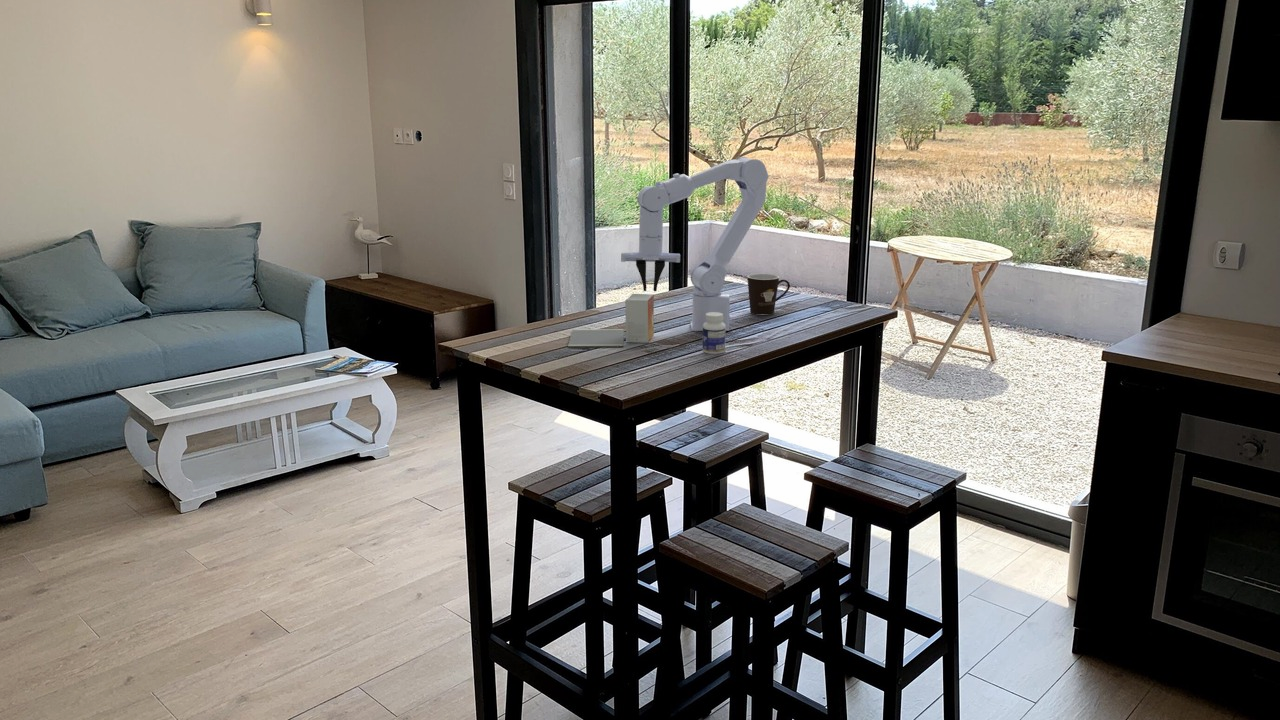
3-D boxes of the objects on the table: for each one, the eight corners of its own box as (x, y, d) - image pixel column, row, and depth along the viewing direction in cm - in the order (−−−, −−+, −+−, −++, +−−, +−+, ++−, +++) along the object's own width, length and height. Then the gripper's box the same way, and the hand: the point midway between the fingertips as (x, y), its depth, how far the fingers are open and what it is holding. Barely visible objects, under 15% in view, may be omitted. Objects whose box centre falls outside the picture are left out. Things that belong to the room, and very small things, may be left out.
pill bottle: (702, 348, 216) (702, 311, 214) (724, 348, 216) (725, 311, 214) (702, 354, 211) (703, 316, 209) (725, 354, 211) (726, 316, 209)
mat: (624, 331, 233) (624, 329, 233) (623, 347, 218) (623, 345, 217) (572, 331, 233) (572, 329, 233) (568, 347, 218) (568, 345, 217)
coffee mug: (746, 315, 249) (747, 279, 246) (746, 309, 257) (747, 273, 254) (789, 316, 248) (791, 280, 245) (788, 309, 256) (790, 274, 253)
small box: (648, 343, 221) (648, 300, 218) (625, 342, 222) (624, 299, 219) (654, 335, 229) (654, 293, 226) (632, 334, 230) (631, 293, 227)
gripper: (621, 237, 223) (620, 293, 226) (681, 238, 223) (679, 294, 226) (621, 233, 229) (621, 287, 233) (679, 234, 230) (678, 288, 233)
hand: (649, 290), depth 230 cm, fingers closed
